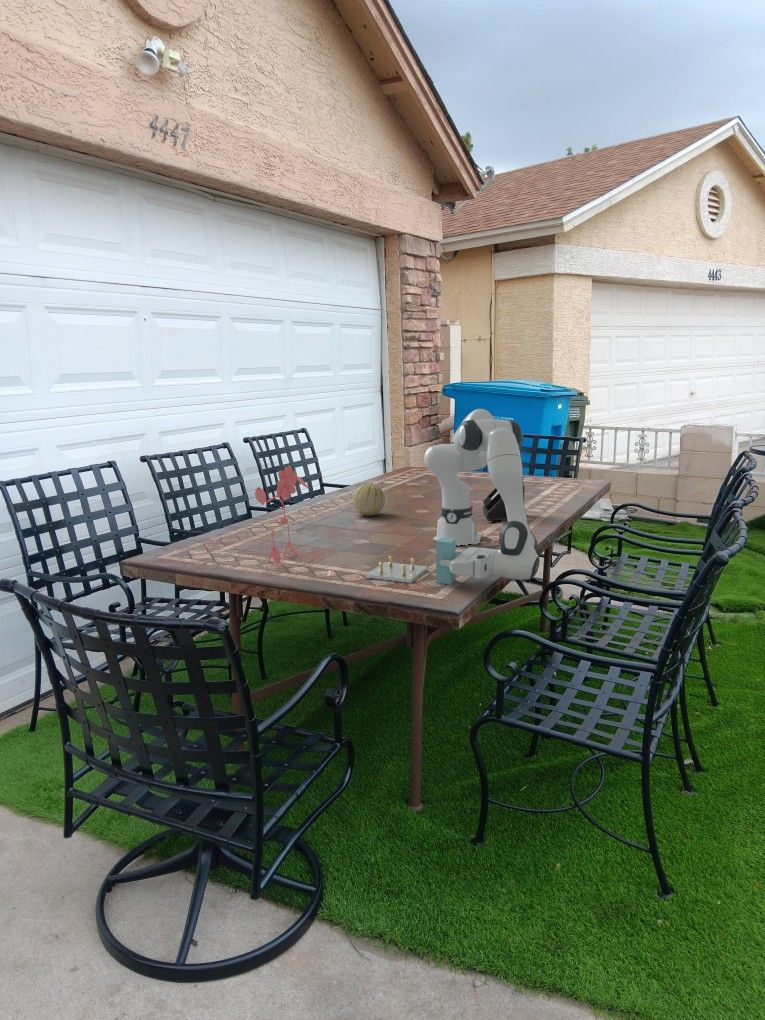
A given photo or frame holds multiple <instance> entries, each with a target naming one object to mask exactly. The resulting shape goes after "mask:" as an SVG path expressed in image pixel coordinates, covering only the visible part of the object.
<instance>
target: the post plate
mask: <svg viewBox="0 0 765 1020" xmlns="http://www.w3.org/2000/svg"><path fill="white" fill-rule="evenodd" d="M426 570H427V571H428V566H427V565H417V564H415V558H414V557H412V558H411V559H410V564H407V563H398V562H393V555H389V556H388V561H384V562H382V561H380V562H379V565H378V566H376V567H374V569H372V570H371V571H369V572H368V573H366V574H365V578H366V579H370V578H374V579H373V580H378V579H383V580H382V581H387V580H391V581H390V582H396V581H398V583H404V582H405V584H412V583H413V582H415V581H416V580H417V579H418V578H419V577H421V576H422V575H423V574H424V573H426V572H427V571H426Z"/></svg>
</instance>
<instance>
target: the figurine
mask: <svg viewBox="0 0 765 1020" xmlns="http://www.w3.org/2000/svg"><path fill="white" fill-rule="evenodd" d="M277 476H278V479H279V480H278V481H277V483H276V486H277V488H276V492H275V493H276V494H275V496H274V497H271V498H270V499H268V500H267V494H266V492H265V491H264V489H263V488H261V487H260V486H257V487H256V488H255V492H254V496H255V499H256V501H257V502H258V503H259V504H261V505H262V506H264V505H265V504H268V503H269V502H271V501H273V500H274V499H276V498H278V500H279V502H280V504H281V505H282V509H283V510H282V511H283V516H282V517H281V518H280V520H279V522H280V523H279V524H278V525H277V526H275V527H274V528H273V529H271V535H272V543H273V544H272V546H271V547H270V556H269V558H268V560H267V562H268V563H269V562H271V559H273V561H275V563H276V564H277V565H278V566H279V565H280V563H281V556H283V557H284V556H285V555H286V553H287V551H288V550H289V548H290V550H291V551H292V552H293V553H294V554H295V555H296V556H299V554H298V552H297V551H296V549H295V547H294V546H293V544H292V542H291V536H290V528H289V526H290V525H289V523H288V522H289V519H288V518H287V517H286V510H285V504H284V502H283V501H286V499H287V500H290V498H291V495H293V494H295V493H297V488H296V487H295V486H296V483H297V481H298V482H299V483H300V484H301V485H302V486H303V487H305V488H306V489H309V488H310V487H309V486H308V484H307V483H306V482H305V481H304V480H303V479H302V478H301V477H300V476H298V475H297V471H296V470H294V471H293V467H292V465H291V464H289V465H288V466H285V467H284V468H283V470H279V471H278V472H277ZM280 497H281V498H280ZM281 525H286V526H287V533H288V534H287V536H288V540H287V541H286V542H287V546H286V548H285V549H284V550H285V551H284V553H283V555H281V553H280V550H279V549H278V548H277V546H276V545H275V537H274V530H276V529H277V528H278V527H280V526H281ZM311 556H313V557H314V555H312V554H311ZM313 560H314V559H312V560H311V561H309V562H306V563H303V564H302V566H305V565H307V564H310V563H312V561H313ZM256 565H257V566H260V565H259V564H256ZM300 565H301V564H299V565H298V567H299V566H300Z"/></svg>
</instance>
